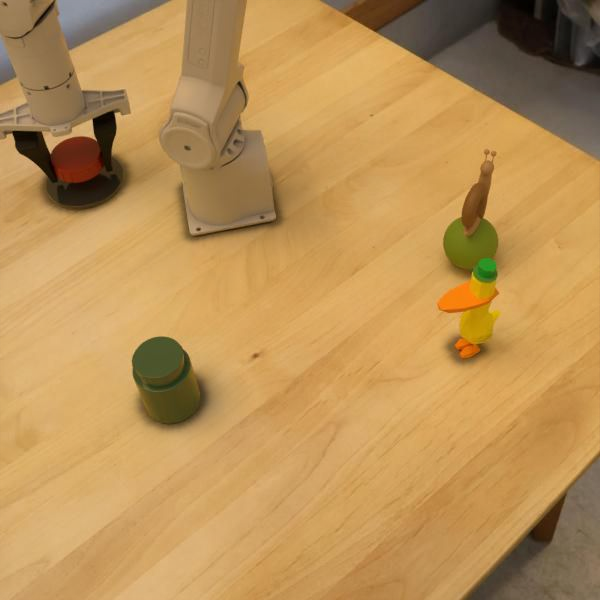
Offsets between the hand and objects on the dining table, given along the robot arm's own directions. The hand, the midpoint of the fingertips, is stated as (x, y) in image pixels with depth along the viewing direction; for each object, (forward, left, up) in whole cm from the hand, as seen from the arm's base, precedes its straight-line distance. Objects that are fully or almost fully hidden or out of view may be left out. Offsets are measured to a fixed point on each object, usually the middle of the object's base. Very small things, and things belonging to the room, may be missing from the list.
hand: (81, 171), depth 98 cm
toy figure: (-35, +33, -2) cm, 48 cm away
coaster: (0, 0, -2) cm, 2 cm away
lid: (0, 0, +2) cm, 2 cm away
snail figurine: (-39, +22, -2) cm, 45 cm away
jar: (-7, +32, -2) cm, 33 cm away
